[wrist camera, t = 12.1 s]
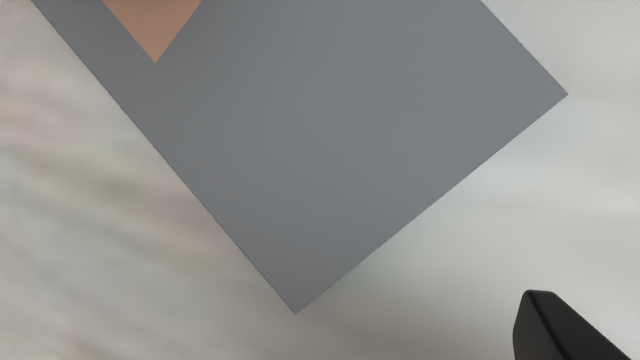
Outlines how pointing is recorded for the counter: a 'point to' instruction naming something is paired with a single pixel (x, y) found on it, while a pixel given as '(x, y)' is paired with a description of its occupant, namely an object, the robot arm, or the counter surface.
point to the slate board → (312, 112)
